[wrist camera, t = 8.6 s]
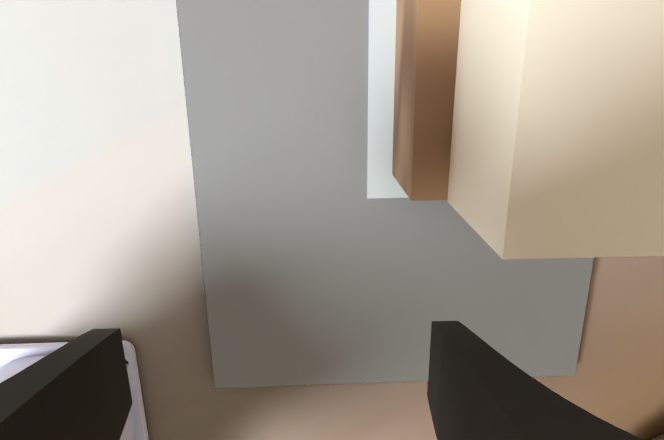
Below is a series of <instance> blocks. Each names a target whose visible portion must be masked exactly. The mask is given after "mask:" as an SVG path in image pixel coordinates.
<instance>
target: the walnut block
mask: <svg viewBox="0 0 664 440" xmlns="http://www.w3.org/2000/svg"><path fill="white" fill-rule="evenodd" d="M460 11H461V0H397V2H396V42H395V82H394V122H393V162H392V175H393V176H394V177H395V179H396V180H397V182H398V183H399V185H400V186H401V187H402V189H403V190H404V192H405V193H406V194H407V196H408V197H409V199H410V200H411V201H431V200H447V198H448V183H449V169H450V155H451V140H452V126H453V112H454V97H455V83H456V68H457V54H458V40H459V25H460Z"/></svg>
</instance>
